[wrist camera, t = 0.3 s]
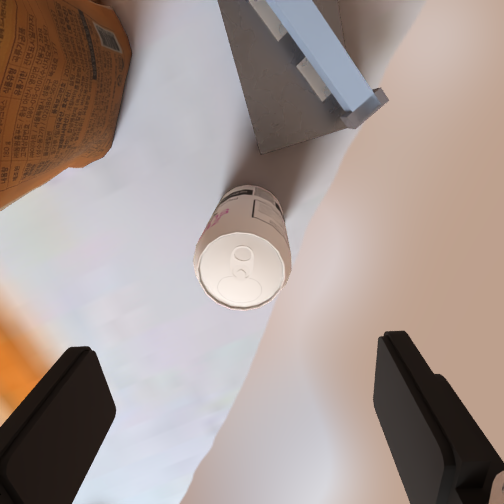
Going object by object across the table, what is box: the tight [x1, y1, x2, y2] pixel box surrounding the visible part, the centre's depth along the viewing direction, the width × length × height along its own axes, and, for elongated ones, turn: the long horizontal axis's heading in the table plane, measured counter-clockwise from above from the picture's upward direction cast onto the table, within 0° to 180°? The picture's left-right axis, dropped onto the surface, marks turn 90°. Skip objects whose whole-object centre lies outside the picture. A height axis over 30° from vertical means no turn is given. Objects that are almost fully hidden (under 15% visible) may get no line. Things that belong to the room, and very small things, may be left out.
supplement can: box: [193, 185, 291, 311], centre depth 31 cm, size 8×8×15 cm
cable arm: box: [266, 0, 389, 129], centre depth 23 cm, size 20×4×2 cm, turn 42°
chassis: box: [218, 0, 347, 154], centre depth 28 cm, size 20×10×6 cm, turn 17°
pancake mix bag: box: [0, 0, 132, 211], centre depth 21 cm, size 7×19×28 cm, turn 157°
